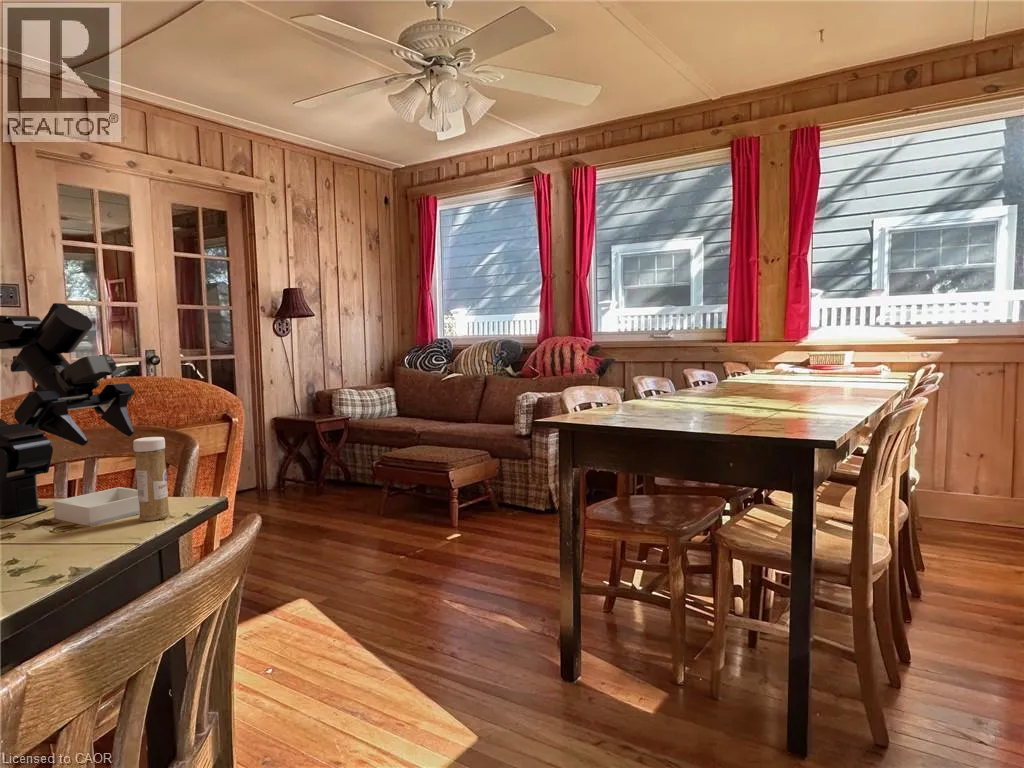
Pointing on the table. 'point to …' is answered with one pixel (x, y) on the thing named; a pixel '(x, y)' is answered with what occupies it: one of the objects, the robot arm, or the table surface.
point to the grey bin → (98, 506)
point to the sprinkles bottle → (151, 478)
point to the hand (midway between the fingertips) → (109, 439)
